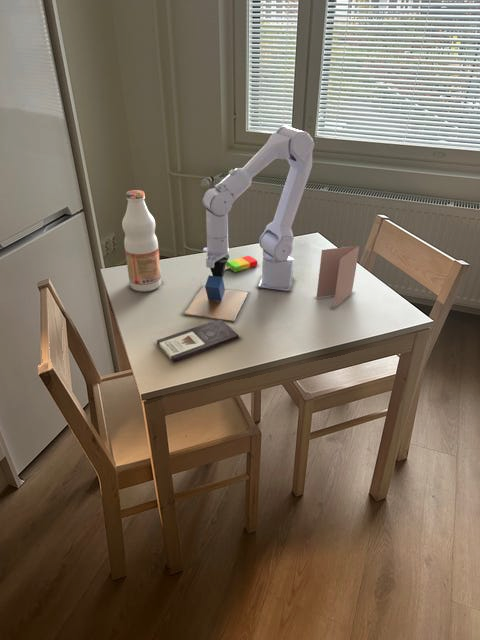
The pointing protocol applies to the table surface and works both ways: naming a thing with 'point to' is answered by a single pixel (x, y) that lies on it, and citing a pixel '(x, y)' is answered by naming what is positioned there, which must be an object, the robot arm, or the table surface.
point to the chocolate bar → (197, 340)
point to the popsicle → (241, 263)
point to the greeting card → (337, 272)
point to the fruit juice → (141, 244)
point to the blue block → (215, 288)
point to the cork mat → (217, 305)
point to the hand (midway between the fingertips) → (218, 280)
